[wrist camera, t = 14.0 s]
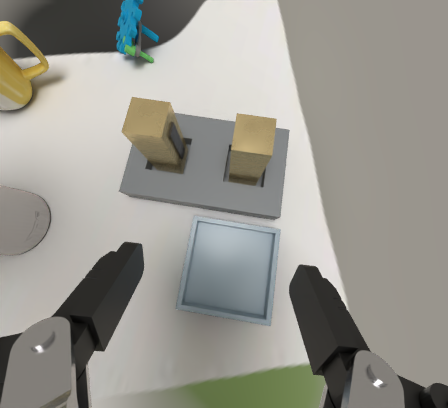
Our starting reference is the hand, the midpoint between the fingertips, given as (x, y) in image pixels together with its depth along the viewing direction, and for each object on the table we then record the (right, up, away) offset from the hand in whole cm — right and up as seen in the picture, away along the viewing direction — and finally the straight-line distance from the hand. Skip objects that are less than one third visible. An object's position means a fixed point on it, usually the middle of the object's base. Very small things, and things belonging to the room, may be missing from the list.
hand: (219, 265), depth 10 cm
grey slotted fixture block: (-2, +9, +20) cm, 22 cm away
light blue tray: (+1, -6, +17) cm, 18 cm away
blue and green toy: (-15, +32, +25) cm, 43 cm away
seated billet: (-8, +10, +19) cm, 23 cm away
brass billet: (+3, +8, +19) cm, 21 cm away
